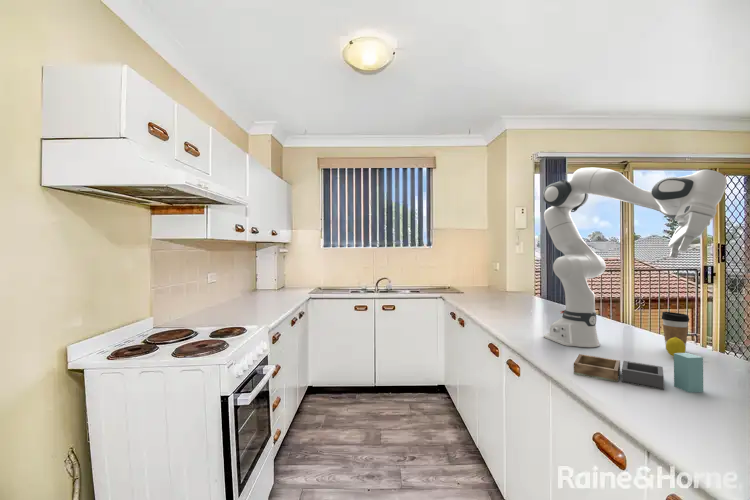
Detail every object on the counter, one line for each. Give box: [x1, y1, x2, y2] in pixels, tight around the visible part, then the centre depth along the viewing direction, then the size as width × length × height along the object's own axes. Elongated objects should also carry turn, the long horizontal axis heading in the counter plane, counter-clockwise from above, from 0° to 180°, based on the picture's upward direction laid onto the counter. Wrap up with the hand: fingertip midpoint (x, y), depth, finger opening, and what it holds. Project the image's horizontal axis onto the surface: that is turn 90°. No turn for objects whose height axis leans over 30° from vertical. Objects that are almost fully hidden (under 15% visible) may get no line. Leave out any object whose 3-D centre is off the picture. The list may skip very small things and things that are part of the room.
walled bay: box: [573, 353, 621, 383], centre depth 115 cm, size 12×12×4 cm
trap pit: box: [621, 360, 665, 391], centre depth 107 cm, size 10×10×4 cm
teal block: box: [673, 352, 704, 394], centre depth 101 cm, size 4×4×10 cm
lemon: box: [665, 337, 687, 358], centre depth 128 cm, size 6×6×8 cm
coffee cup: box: [661, 311, 690, 347], centre depth 137 cm, size 8×8×15 cm
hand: (677, 254), depth 112 cm, fingers open, 8 cm apart
